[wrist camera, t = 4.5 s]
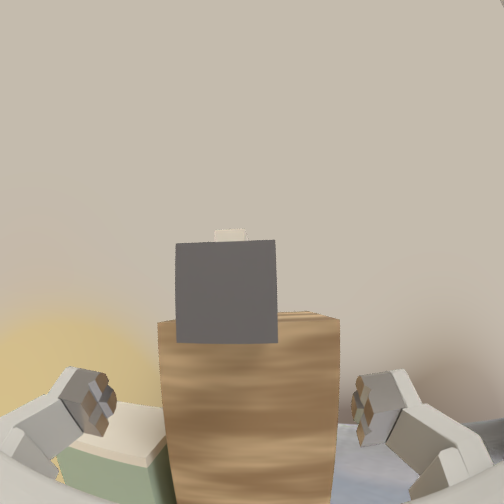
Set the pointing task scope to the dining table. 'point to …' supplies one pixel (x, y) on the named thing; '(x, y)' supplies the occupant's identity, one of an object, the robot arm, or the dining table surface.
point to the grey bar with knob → (226, 290)
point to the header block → (123, 459)
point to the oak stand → (253, 414)
